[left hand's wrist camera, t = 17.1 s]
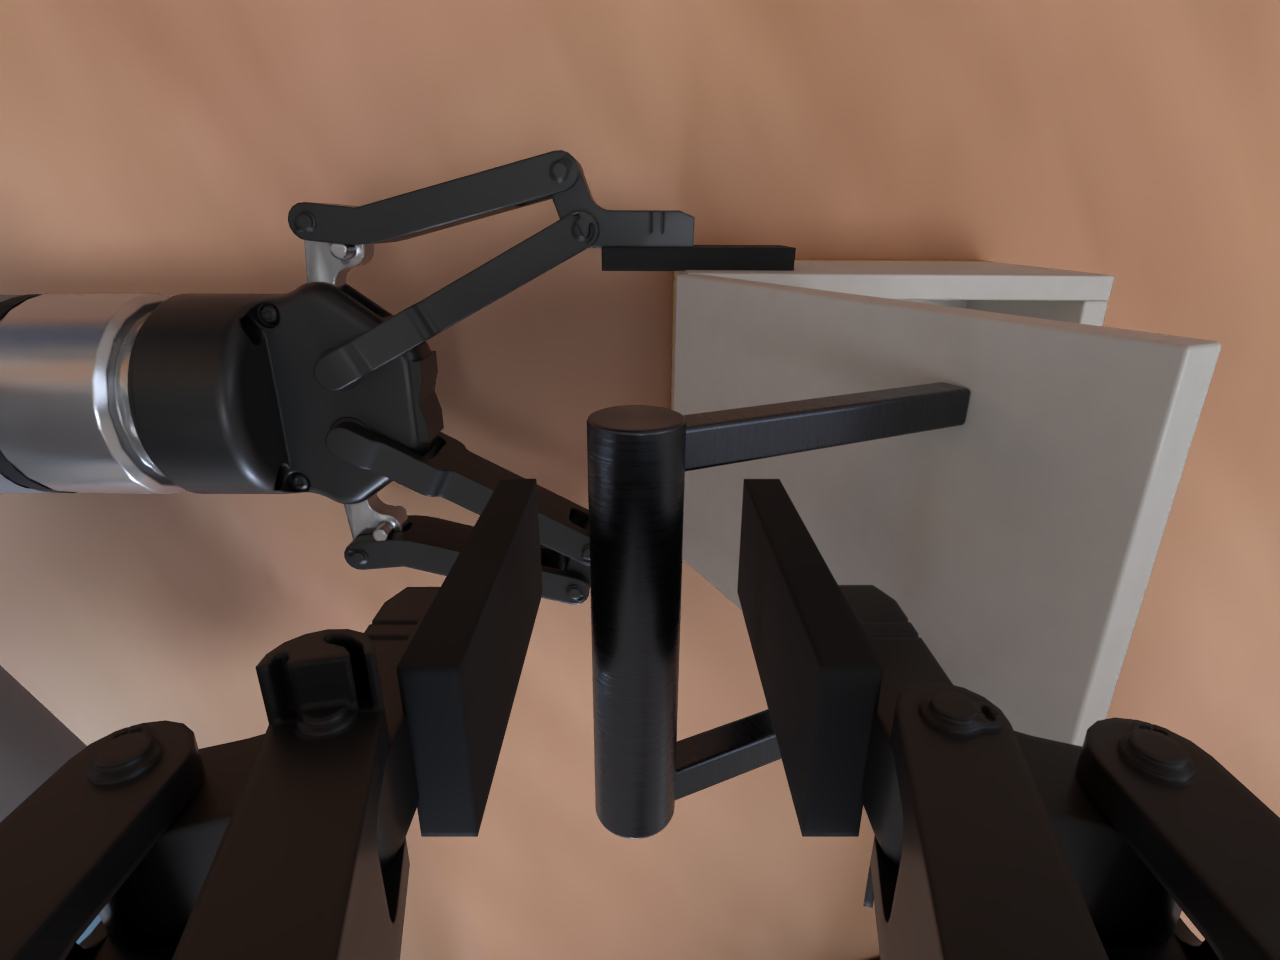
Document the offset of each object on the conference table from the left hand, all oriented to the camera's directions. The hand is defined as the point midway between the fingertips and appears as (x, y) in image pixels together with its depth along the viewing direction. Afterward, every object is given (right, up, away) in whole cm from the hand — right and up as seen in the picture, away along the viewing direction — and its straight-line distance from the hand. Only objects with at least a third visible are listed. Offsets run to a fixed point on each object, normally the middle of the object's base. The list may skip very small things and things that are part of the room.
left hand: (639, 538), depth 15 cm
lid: (+5, +1, +2) cm, 6 cm away
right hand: (+5, +4, +11) cm, 13 cm away
